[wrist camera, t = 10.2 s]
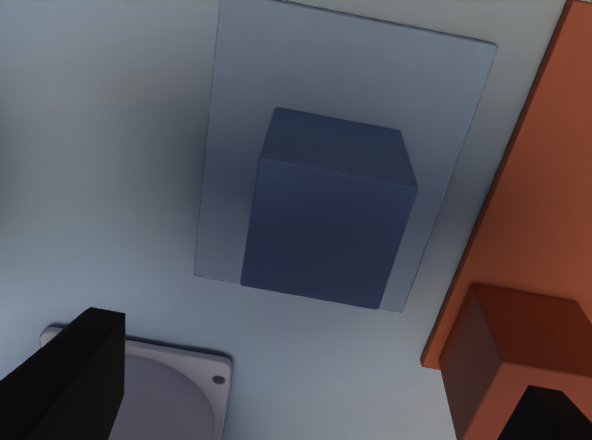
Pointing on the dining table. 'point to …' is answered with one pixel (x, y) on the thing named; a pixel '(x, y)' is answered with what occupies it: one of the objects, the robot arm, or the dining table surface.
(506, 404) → the rust block
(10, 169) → the dining table surface
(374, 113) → the blue mat
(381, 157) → the blue block
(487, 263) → the rust mat
